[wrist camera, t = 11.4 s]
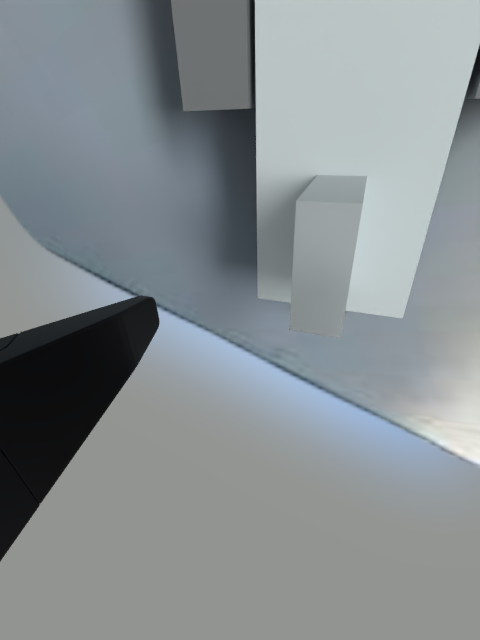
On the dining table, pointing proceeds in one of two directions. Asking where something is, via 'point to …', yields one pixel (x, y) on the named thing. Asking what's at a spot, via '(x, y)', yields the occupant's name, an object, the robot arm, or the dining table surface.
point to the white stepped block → (353, 147)
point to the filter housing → (228, 54)
